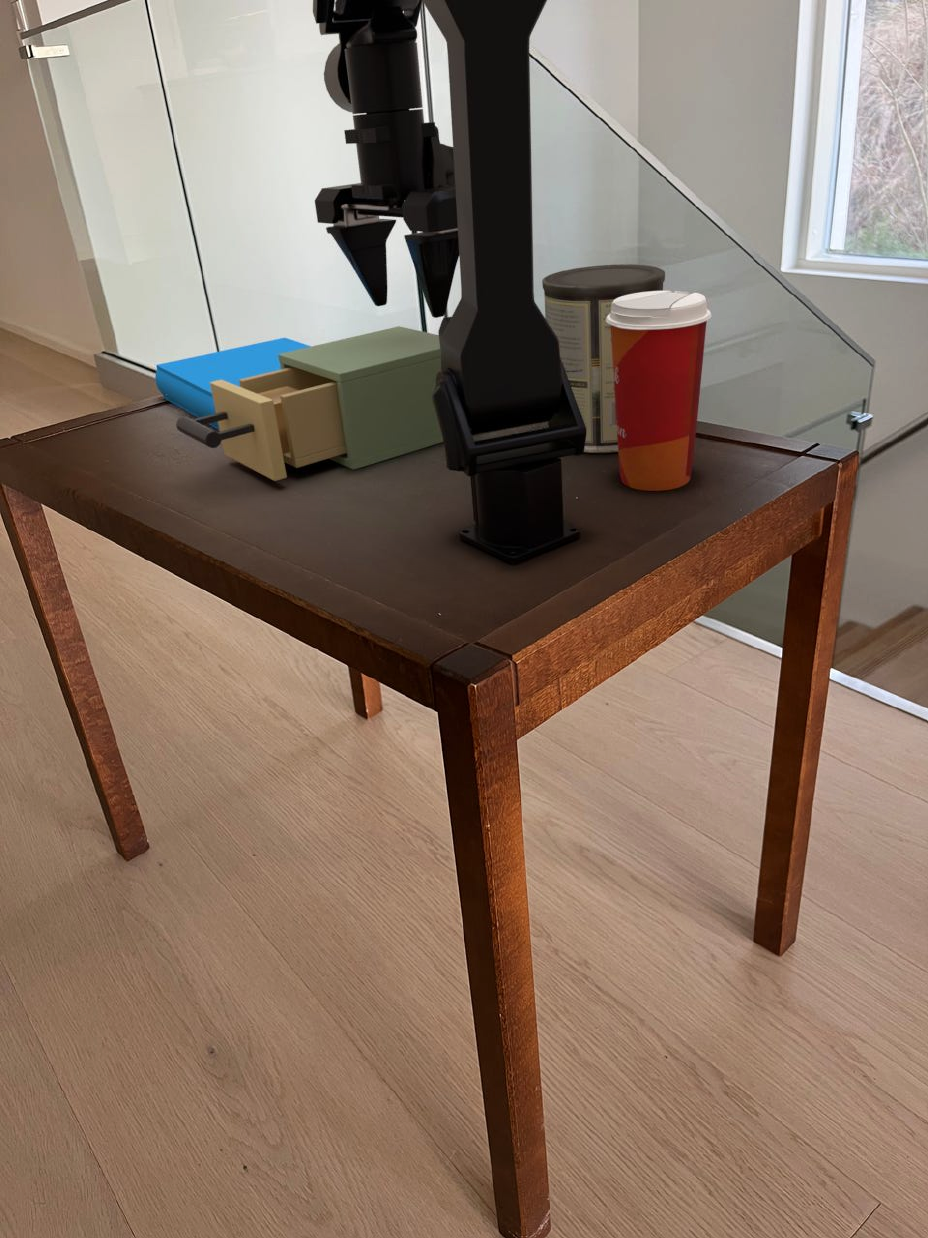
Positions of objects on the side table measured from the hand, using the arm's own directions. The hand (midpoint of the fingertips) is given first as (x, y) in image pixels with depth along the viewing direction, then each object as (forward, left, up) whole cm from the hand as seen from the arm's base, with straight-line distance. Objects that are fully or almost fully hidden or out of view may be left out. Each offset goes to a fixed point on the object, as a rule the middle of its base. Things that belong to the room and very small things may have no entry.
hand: (408, 310), depth 84 cm
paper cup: (-23, -7, -12) cm, 27 cm away
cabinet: (+4, +2, -12) cm, 13 cm away
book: (+25, +4, -12) cm, 28 cm away
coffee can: (-12, -12, -12) cm, 21 cm away
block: (+4, +12, -10) cm, 16 cm away
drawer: (+4, +12, -11) cm, 17 cm away
